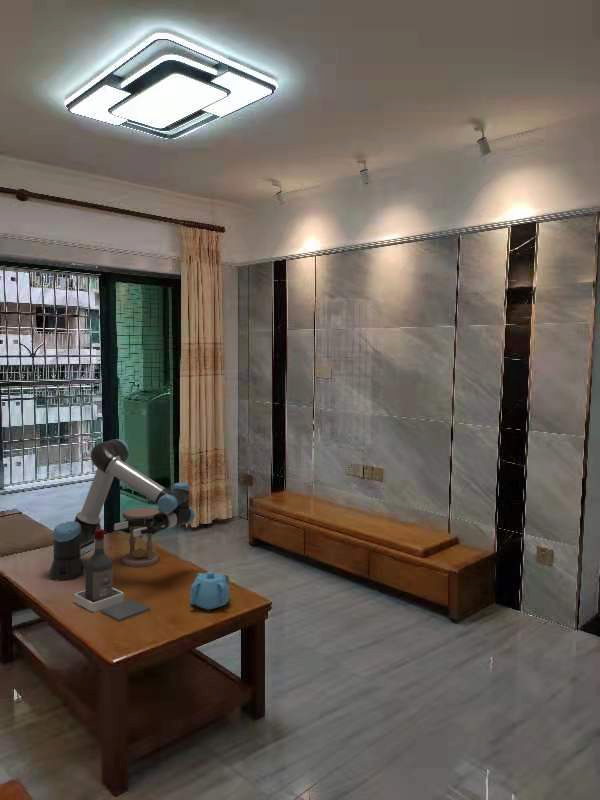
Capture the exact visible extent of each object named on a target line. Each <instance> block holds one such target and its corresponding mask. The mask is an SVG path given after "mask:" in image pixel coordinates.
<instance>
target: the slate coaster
mask: <svg viewBox="0 0 600 800" xmlns="http://www.w3.org/2000/svg"><path fill="white" fill-rule="evenodd" d="M150 610H151V607H150V606H147V605H145V604H142V603H140V602H139V601H137V600H134V599H132V598H129V599H126V600H124V601H123V602H120V603H117V604H114V605H111V606H109V607H106V608H103V609H100V610H99V611H100V613H102V614H104V615H106V616H108V617H109V618H112V619H114V620H115V621H117V622H119V623H120V622H122V621H124V620H128V619H130V618H133V617H136V616H138V615H141V614H143V613H146V612H148V611H150Z"/></svg>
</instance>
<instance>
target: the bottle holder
mask: <svg viewBox="0 0 600 800" xmlns="http://www.w3.org/2000/svg"><path fill="white" fill-rule="evenodd" d="M73 601H74V602H73V603H74V604H76V603H77V604H76V605H78V606H80V607H81V606H82V608H83V607H84V608H83V609H85V608H86V610H87V609H88V610H87V611H89V612H91V613H96V612H99V611H100V609H103V608H106V607H109V606H111V605H114V604H117V603H120V602H123V601H125V593H124V592H123V591H121V590H119V589H116V588H115V587H114V586H112V597H109V598H106V599H103V600H100V601H97V602H94V603H93V602H91V601H89V600H87V599H85V589H84V590H82V591H78V592H75V593H73ZM92 611H93V612H92Z"/></svg>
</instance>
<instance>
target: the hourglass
mask: <svg viewBox="0 0 600 800" xmlns="http://www.w3.org/2000/svg"><path fill="white" fill-rule="evenodd" d="M158 513H160V509H156V508H153V507H134V508H129V509H126V510H124V511H123V512H122V518H123V519H125V520H126V519H138V518H146V517H147V519H149V518H153V517H154V515H155V514H158ZM144 525H145V524H144ZM140 528H144V527H142V526H133V527H128V529H129V531H130V535H129V539H128V541H129V553H126V554H124V555H123V557H121V558H122V561H121V563H122V564H123V565H125V566H127V567H131V568H132V567H133V568H142V567H143V568H144V567H149V566H153V565H155V564H156V563H158V562H159V560H160V557H159V554H158V553H156V552H154V551H153V541H152V540H153V539H152V537H153V534H152V533H150V534H148V533H147V534H146V537H147V541H146V543H145V546H146V548H143V547H140V548H137V549H135V548H136V547H135V546H136V537H133V530H136V529H140ZM147 529H148V527H147ZM138 538H139V539H142V538H143V535H140V536H138Z"/></svg>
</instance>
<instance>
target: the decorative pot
mask: <svg viewBox="0 0 600 800" xmlns="http://www.w3.org/2000/svg"><path fill="white" fill-rule="evenodd" d="M229 582H230V577H229V575H228V574H227V573H221V574H220V573H217V572H214V571H207V572H206V573H202V572H199V573H196V575H195V578H194V581H193V583H192V584H191V586H190V594H189V597H190V599H189V603H190V604H191V605H195V606H196V607H198V608H201V609H204V610H205V609H211V610H212V609H217V608H221V607H223V606H225V605H226V604H228V602H229V600H230V598H231V594H230V593H231V592H230V587H229Z"/></svg>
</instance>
